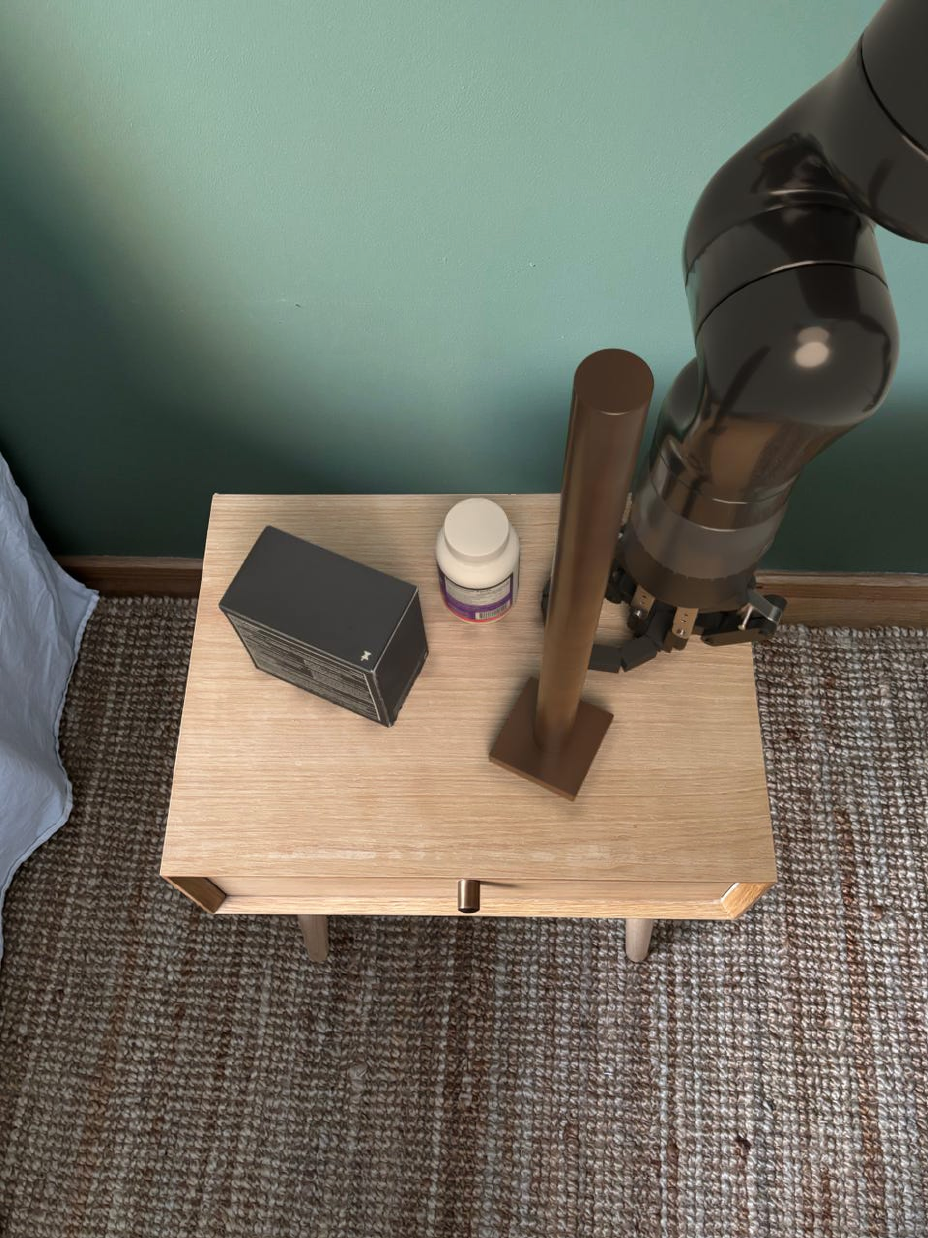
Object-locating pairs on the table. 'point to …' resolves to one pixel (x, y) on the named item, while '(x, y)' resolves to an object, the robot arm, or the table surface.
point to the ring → (631, 652)
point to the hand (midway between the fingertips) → (656, 633)
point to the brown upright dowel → (580, 574)
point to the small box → (328, 624)
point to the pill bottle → (478, 561)
